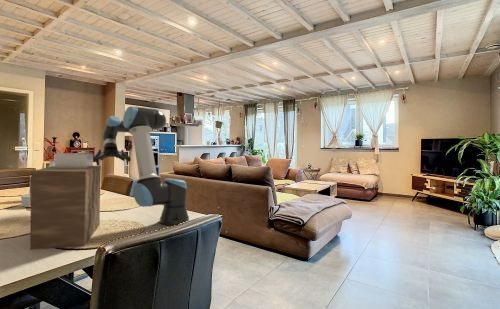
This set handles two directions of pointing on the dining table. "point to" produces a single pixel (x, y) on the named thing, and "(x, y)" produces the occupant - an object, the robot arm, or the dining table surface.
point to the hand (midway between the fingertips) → (113, 167)
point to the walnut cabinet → (64, 206)
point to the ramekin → (25, 200)
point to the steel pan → (74, 160)
